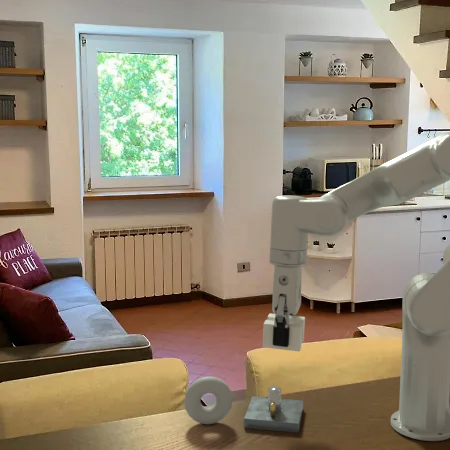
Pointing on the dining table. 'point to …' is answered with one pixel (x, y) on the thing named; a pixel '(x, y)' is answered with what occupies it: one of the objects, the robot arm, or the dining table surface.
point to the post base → (274, 412)
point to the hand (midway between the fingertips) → (283, 338)
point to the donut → (201, 388)
